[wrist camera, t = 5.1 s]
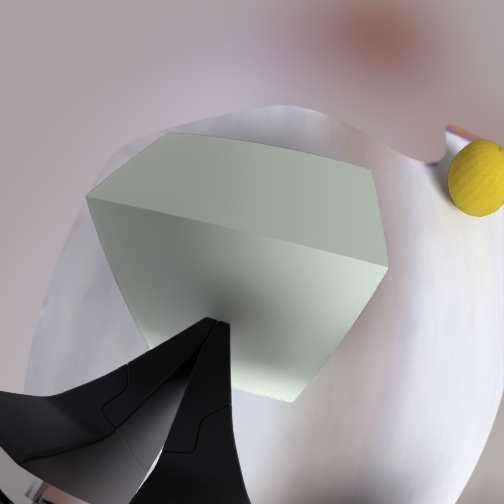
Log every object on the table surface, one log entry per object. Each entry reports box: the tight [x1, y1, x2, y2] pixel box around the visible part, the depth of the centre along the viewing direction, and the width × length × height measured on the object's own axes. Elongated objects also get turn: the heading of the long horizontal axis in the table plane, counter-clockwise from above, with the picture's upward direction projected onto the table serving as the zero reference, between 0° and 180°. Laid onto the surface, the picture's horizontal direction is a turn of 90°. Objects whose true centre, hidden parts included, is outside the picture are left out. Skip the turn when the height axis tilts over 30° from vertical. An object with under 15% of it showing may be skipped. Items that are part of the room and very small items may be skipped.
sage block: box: [85, 132, 389, 403], centre depth 12 cm, size 5×8×11 cm, turn 75°
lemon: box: [448, 139, 504, 217], centre depth 15 cm, size 6×6×8 cm
